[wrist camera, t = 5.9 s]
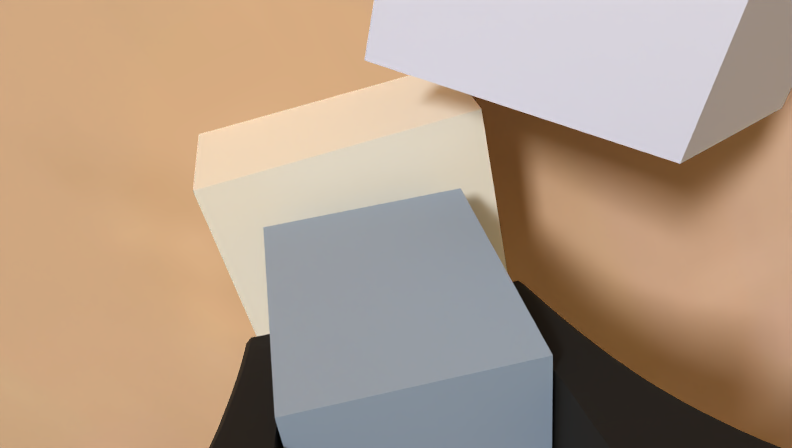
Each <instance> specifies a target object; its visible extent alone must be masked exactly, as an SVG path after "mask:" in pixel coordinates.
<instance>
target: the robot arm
mask: <svg viewBox="0 0 792 448" xmlns="http://www.w3.org/2000/svg"><path fill="white" fill-rule="evenodd" d="M513 284H514V286H515V288H516V289H517V291H518V293H519V295H520V297H521V299H522V300H523V302H524V304H525V306H526V308H527V309H528V311H529V313H530V315H531V317H532V318H533V320H534V322H535V324H536V326H537V328H538V329H539V331H540V333H541V335H542V337H543V338H544V340H545V342H546V344H547V346H548V347H549V349H550V351H551V353H552V355H553V395H552V448H780V447H777V446H775V445H773V444H770V443H768V442H765V441H763V440H760V439H758V438H756V437H754V436H751V435H749V434H747V433H744V432H742V431H740V430H738V429H736V428H734V427H732V426H730V425H727V424H725V423H723V422H721V421H719V420H717V419H715V418H713V417H711V416H709V415H707V414H705V413H703V412H701V411H699V410H697V409H695V408H693V407H691V406H690V405H688V404H686V403H684V402H682V401H680V400H679V399H677V398H675V397H673V396H672V395H670V394H668V393H667V392H665V391H663V390H661V389H660V388H658V387H656V386H655V385H653V384H652V383H650V382H648V381H647V380H645V379H644V378H642V377H641V376H639V375H638V374H636V373H635V372H633V371H632V370H630V369H629V368H627V367H626V366H624V365H623V364H622V363H620V362H619V361H617V360H616V359H614V358H613V357H612V356H610V355H609V354H608V353H606V352H605V351H603V350H602V349H601V348H599V347H598V346H597V345H596V344H594V343H593V342H592V341H590V340H589V339H588V338H586V337H585V336H584V335H583V334H581V333H580V332H579V331H577V330H576V329H575V328H574V327H573V326H571V325H570V324H569V323H568V322H566V321H565V320H564V319H563V318H562V317H560V316H559V315H558V314H557V313H556V312H555V311H553V310H552V309H551V308H550V307H549V306H548V305H546V304H545V303H544V302H543V301H542V300H541V299H540V298H538V297H537V296H536V295H535V294H534V293H533V292H532V291H531V290H529V289H528V288H527V287H526V286H525V285H524V284H522V283H521V282H519V281H515V282H513ZM209 448H284V447H283V443H282V440H281V437H280V434H279V430H278V427H277V424H276V420H275V414H274V397H273V380H272V364H271V347H270V334H267V335H262V336H257V337H253V338H251V339H250V340H249V341H248V342H247V344H246V348H245V352H244V356H243V360H242V363H241V367H240V370H239V373H238V376H237V379H236V382H235V385H234V388H233V391H232V394H231V397H230V399H229V402H228V404H227V407H226V409H225V412H224V415H223V417H222V420H221V422H220V425H219V427H218V430H217V432H216V434H215V436H214V439H213V441H212V443H211V445H210V447H209Z"/></svg>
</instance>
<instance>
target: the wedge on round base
mask: <svg viewBox="0 0 792 448" xmlns="http://www.w3.org/2000/svg"><path fill="white" fill-rule="evenodd" d="M365 61H368V62H371V63H374V64H377V65H380V66H383V67H386V68H389V69H393V70H396V71H399V72H402V73H405V74H408V75H411V76H414V77H417V78H420V79H423V80H426V81H429V82H432V83H435V84H438V85H441V86H444V87H447V88H450V89H453V90H457V91H460V92H463V93H466V94H469V95H472V96H475V97H478V98H481V99H484V100H487V101H490V102H493V103H496V104H499V105H502V106H505V107H508V108H511V109H514V110H518V111H521V112H524V113H527V114H530V115H533V116H536V117H539V118H542V119H545V120H548V121H551V122H554V123H557V124H560V125H563V126H566V127H569V128H572V129H575V130H578V131H582V132H585V133H588V134H591V135H594V136H597V137H600V138H603V139H606V140H609V141H612V142H615V143H618V144H621V145H624V146H627V147H630V148H633V149H636V150H639V151H642V152H646V153H649V154H652V155H655V156H658V157H661V158H664V159H667V160H670V161H673V162H676V163H679V164H681V163H683V162H684V161H686V160H688V159H690V158H692V157H694V156H695V155H697V154H699V153H701V152H703V151H705V150H706V149H708V148H710V147H712V146H714V145H715V144H717V143H719V142H721V141H723V140H725V139H726V138H728V137H730V136H732V135H734V134H736V133H737V132H739V131H741V130H743V129H745V128H747V127H748V126H750V125H752V124H754V123H756V122H757V121H759V120H761V119H763V118H765V117H767V116H768V115H770V114H772V113H774V112H776V111H778V110H779V109H781V108H782V107H783V105H784V103H785V101H786V99H787V96H788V94H789V92H790V90H791V88H792V0H374V4H373V10H372V17H371V23H370V29H369V36H368V42H367V48H366V54H365Z"/></svg>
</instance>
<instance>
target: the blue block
mask: <svg viewBox="0 0 792 448" xmlns="http://www.w3.org/2000/svg"><path fill="white" fill-rule="evenodd" d="M263 230H264V247H265V264H266V280H267V297H268V314H269V330H270V347H271V364H272V380H273V397H274V414H275V420H276V424H277V427H278V430H279V434H280V437H281V440H282V443H283V447H284V448H552V395H553V355H552V353H551V351H550V349H549V347H548V346H547V344H546V342H545V340H544V338H543V337H542V335H541V333H540V331H539V329H538V328H537V326H536V324H535V322H534V320H533V318H532V317H531V315H530V313H529V311H528V309H527V308H526V306H525V304H524V302H523V300H522V299H521V297H520V295H519V293H518V291H517V289H516V288H515V286H514V284H513V282H512V280H511V279H510V277H509V275H508V273H507V271H506V270H505V268H504V266H503V264H502V262H501V261H500V259H499V257H498V255H497V253H496V251H495V250H494V248H493V246H492V244H491V242H490V241H489V239H488V237H487V235H486V233H485V232H484V230H483V228H482V226H481V224H480V222H479V221H478V219H477V217H476V215H475V213H474V212H473V210H472V208H471V206H470V204H469V203H468V201H467V199H466V197H465V195H464V194H463V192H462V190H461V188H459V189H454V190H449V191H444V192H439V193H434V194H429V195H424V196H419V197H414V198H409V199H404V200H399V201H394V202H389V203H384V204H378V205H373V206H368V207H363V208H358V209H353V210H348V211H343V212H338V213H333V214H328V215H323V216H318V217H313V218H308V219H303V220H298V221H293V222H288V223H283V224H278V225H273V226H267V227H263Z"/></svg>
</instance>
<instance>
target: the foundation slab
mask: <svg viewBox="0 0 792 448" xmlns="http://www.w3.org/2000/svg"><path fill="white" fill-rule="evenodd" d="M459 188H461V190H462V192H463V194H464V195H465V197H466V199H467V201H468V203H469V204H470V206H471V208H472V210H473V212H474V213H475V215H476V217H477V219H478V221H479V222H480V224H481V226H482V228H483V230H484V232H485V233H486V235H487V237H488V239H489V241H490V242H491V244H492V246H493V248H494V250H495V251H496V253H497V255H498V257H499V259H500V261H501V262H502V264H503V266H504V268H505V270H506V271H507V267H506V260H505V254H504V248H503V242H502V235H501V229H500V223H499V216H498V210H497V204H496V197H495V191H494V185H493V179H492V172H491V166H490V160H489V153H488V147H487V141H486V134H485V128H484V122H483V116H482V109H481V108H480V106H479V105H478V104H477V102H476V101H475V100H474V98H473V97H472V96H471V95H469V94H466V93H463V92H460V91H457V90H453V89H450V88H447V87H444V86H441V85H438V84H435V83H432V82H429V81H426V80H423V79H420V78H417V77H414V76H411V75H409V76H406V77H402V78H399V79H395V80H391V81H388V82H384V83H381V84H377V85H374V86H370V87H366V88H363V89H359V90H356V91H352V92H348V93H345V94H341V95H338V96H334V97H331V98H327V99H323V100H320V101H316V102H313V103H309V104H306V105H302V106H298V107H295V108H291V109H288V110H284V111H280V112H277V113H273V114H270V115H266V116H263V117H259V118H255V119H252V120H248V121H245V122H241V123H238V124H234V125H230V126H227V127H223V128H220V129H216V130H212V131H209V132H205V133H202V134H199V137H198V147H197V156H196V166H195V175H194V185H193V192H194V194H195V197H196V199H197V201H198V204H199V206H200V208H201V210H202V213H203V215H204V217H205V219H206V222H207V224H208V226H209V229H210V231H211V233H212V235H213V238H214V240H215V242H216V245H217V247H218V249H219V251H220V254H221V256H222V258H223V260H224V263H225V265H226V267H227V270H228V272H229V274H230V276H231V279H232V281H233V283H234V286H235V288H236V290H237V292H238V295H239V297H240V299H241V301H242V304H243V306H244V308H245V311H246V313H247V315H248V317H249V320H250V322H251V324H252V327H253V329H254V331H255V333H256V336H262V335H267V334H270V330H269V314H268V297H267V280H266V264H265V247H264V230H263V227H267V226H273V225H278V224H283V223H288V222H293V221H298V220H303V219H308V218H313V217H318V216H323V215H328V214H333V213H338V212H343V211H348V210H353V209H358V208H363V207H368V206H373V205H378V204H384V203H389V202H394V201H399V200H404V199H409V198H414V197H419V196H424V195H429V194H434V193H439V192H444V191H449V190H454V189H459Z"/></svg>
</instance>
